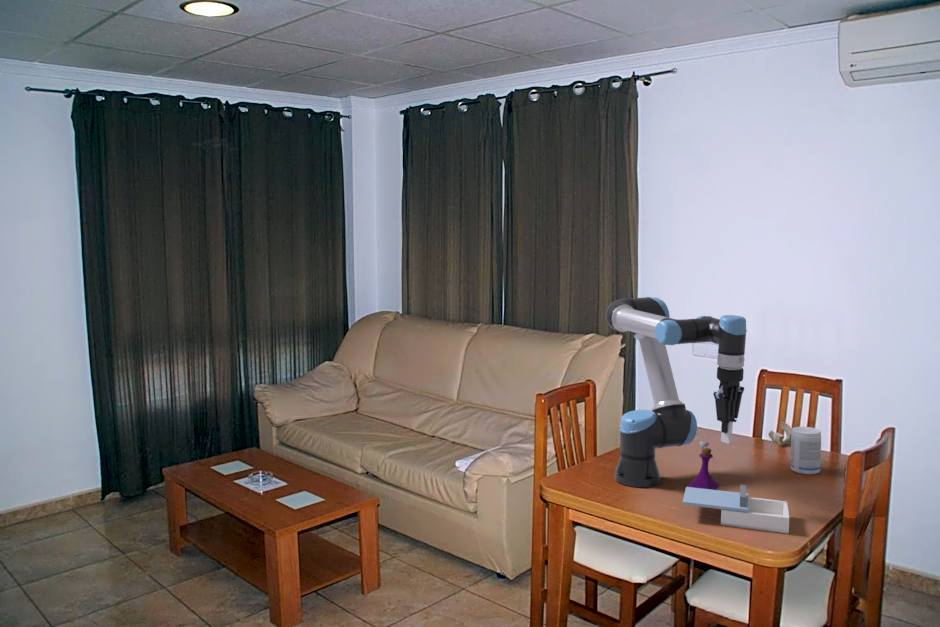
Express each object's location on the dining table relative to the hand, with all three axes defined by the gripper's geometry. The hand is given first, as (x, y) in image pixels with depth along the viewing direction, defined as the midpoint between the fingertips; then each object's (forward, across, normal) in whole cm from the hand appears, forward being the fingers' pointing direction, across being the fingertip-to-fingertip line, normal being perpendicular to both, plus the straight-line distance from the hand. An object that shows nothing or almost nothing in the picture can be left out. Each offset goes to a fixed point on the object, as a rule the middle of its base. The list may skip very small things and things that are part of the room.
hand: (726, 442), depth 220 cm
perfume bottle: (+21, +2, +8) cm, 22 cm away
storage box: (+20, -4, -13) cm, 24 cm away
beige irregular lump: (+22, +71, +21) cm, 77 cm away
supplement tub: (+21, +49, -1) cm, 53 cm away
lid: (+15, -9, -4) cm, 18 cm away
